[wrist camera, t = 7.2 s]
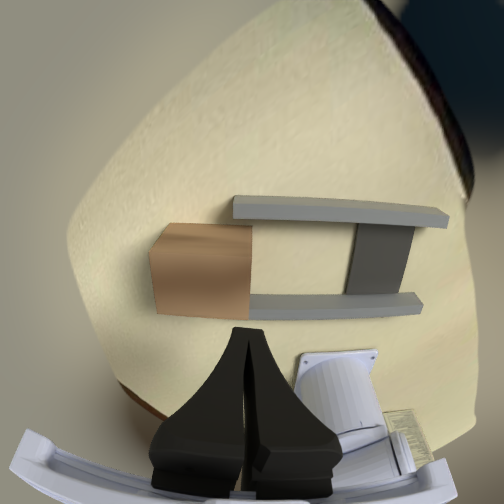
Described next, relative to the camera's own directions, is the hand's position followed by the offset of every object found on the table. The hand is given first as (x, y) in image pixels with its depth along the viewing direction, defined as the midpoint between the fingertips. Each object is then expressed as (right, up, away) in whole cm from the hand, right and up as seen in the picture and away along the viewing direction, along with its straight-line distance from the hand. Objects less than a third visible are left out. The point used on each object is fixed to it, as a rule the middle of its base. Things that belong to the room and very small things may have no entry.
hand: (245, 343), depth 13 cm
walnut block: (-3, +4, +9) cm, 10 cm away
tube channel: (+7, +4, +9) cm, 12 cm away
